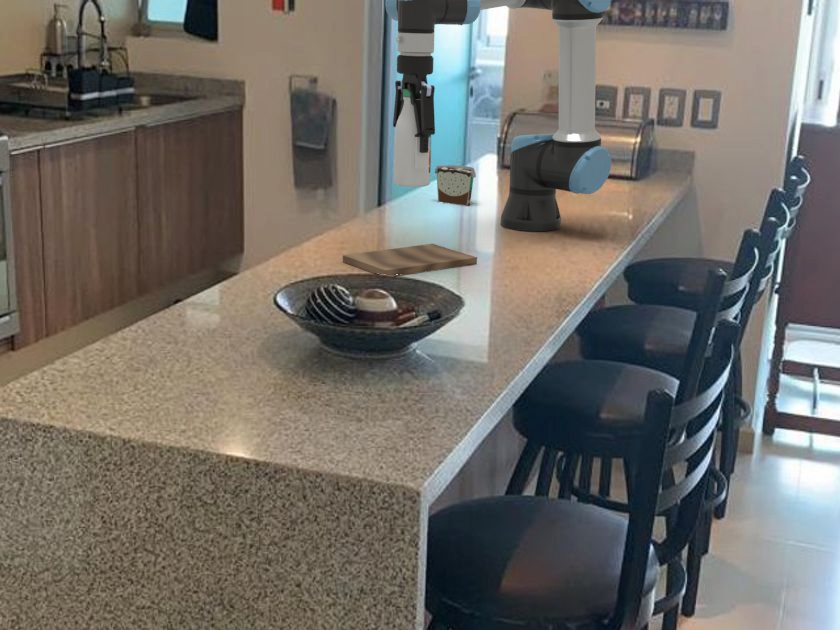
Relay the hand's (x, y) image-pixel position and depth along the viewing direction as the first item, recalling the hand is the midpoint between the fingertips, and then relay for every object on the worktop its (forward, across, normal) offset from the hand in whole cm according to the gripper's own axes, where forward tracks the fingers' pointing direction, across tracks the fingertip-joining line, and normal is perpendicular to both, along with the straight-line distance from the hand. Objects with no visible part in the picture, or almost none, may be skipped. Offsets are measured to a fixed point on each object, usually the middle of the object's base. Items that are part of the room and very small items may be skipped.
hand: (412, 165), depth 244 cm
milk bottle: (+4, 0, 0) cm, 4 cm away
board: (+21, 0, 0) cm, 21 cm away
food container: (+21, -62, +45) cm, 79 cm away
